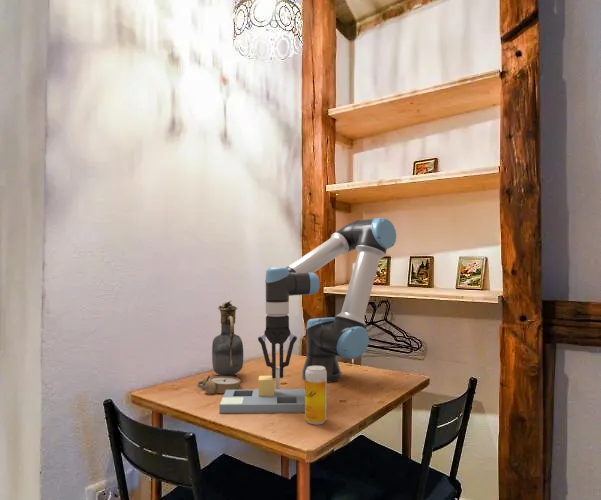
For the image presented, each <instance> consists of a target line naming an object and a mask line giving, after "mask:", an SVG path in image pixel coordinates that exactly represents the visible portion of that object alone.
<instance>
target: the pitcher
mask: <svg viewBox="0 0 601 500" xmlns="http://www.w3.org/2000/svg"><path fill="white" fill-rule="evenodd" d="M232 301H233V300H230V301H227V302H223V303H222V304H221V305H219V306H218V308H217V309H218V310H219V311H220V324H221V325H220V326H221V330H220V331H221V333H220V334H219V335H216V336H215V337H214V338H213V340H212V346H211V356H212V357H211V362H212V369H213V371H214V373H215V374H217V376H231V377H235V378H238V376H237V373H239V372H241V370H242V369H243V366H244V365H243V364H244V345H243V340H242V338H241V336H240V335H238V334H235V324H236V311H237V310H238V307H237V306H234V305H233V304H232V303H231V302H232Z"/></svg>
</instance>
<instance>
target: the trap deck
mask: <svg viewBox="0 0 601 500" xmlns="http://www.w3.org/2000/svg"><path fill="white" fill-rule="evenodd" d="M255 413H256V414H261V413H262V414H268V413H269V414H270V413H271V414H273V413H274V414H279V413H280V414H281V413H283V414H285V413H288V414H289V413H291V414H292V413H295V414H296V413H305V388H296V389H295V388H292V389H291V388H289V389H288V388H287V389H285V388H284V389H283V388H282V389H281V388H280V389H276V388H274V396H259V388H258V389H257V388H256V389H255V388H254V389H240V390H226V391H225V393H223V396H222V398H221V401H220V403H219V412H218V414H255Z"/></svg>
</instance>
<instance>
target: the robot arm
mask: <svg viewBox="0 0 601 500" xmlns="http://www.w3.org/2000/svg"><path fill="white" fill-rule="evenodd" d="M396 241H397V231H396V228H395V225H394V223H392V221H390V219H388V218H385V217H380V218H379V217H375V218H368V219H360V220H359V219H358V220H354V221H352V222H349V223H348V224H346V225H345V226H343V227H340V228H339V229H338V230H337V231H335V232H334V233H332V234H331V235H330V238H329V239H327V240H326V241H325V242H323V243H321V244H320V245H318V246H317V247H315V248H313V249H312V250H311V251H309V252H308V253H306V254H304V255H303V256H301V257H300V258H298V259H296V260H295V261H293V262H292V263H290V264H288V265H287V266H285V267H284V266H283V267H268V268H267V269H266V271H265V280H264V281H265V314H266V316H265V330H264V331H263V334H261V335H259V336H258V337H257V341H258V342H259V344H260V345H261V349H262V354H263V356H264V357H263V358H264V360H265V361H264V362H265V364H266V367H270V368H271V376H272V378H274V379H275V389H281V386H280V385H281V384H280V382H281V381H280V380H281V379H283V378H284V369H285V367H288V366H289V365H290V361H291V357H292V353H293V349H294V345H295V344H296V341H297V340H298V338H297V335H296V334H293V333H292V332H291V329H290V316H289V315H288V314H289V313H290V299H289V298H290V296H305V295H306V296H310V295H314V294H316V293H318V291H319V289H320V287H321V285H320V282H321V281H320V277H319V276H318V275H317V274H316V272H317V271H318V270H320V269H321V268H323V267H324V266H326V265H327V264H328V263H330V262H331V261H333V260H334V259H336V258H337V257H339V256H340V255H345V254H348V253H349V252H351V251H354V250H356V252H357V256H356V259H355V263H354V266H353V270H352V273H351V277H350V281H349V283H348V287H347V290H346V294H345V298H344V301H343V305H342V308H341V312H340V313H338V314H337V315H335V316H334V317H318V318H310V319H308V321H307V323H306V357H305V358H306V359H305V362H304V365H303V368H302V372H301V378H302V379H303V380H305V371H306V369H307V367H308V366H323V367H325V369H326V371H327V383H333V382H337V381H340V380H341V379H342V371H341V368H340V365H339V361H338V358H337V356H339V357H341V358H344V359H357V358H359V357H360V356H362V355H364V353H365V352H366V350H367V349H368V347H369V343H370V341H369V340H370V337H369V333H368V331H367V330H366V327H367V323H366V322H365V320H364V318H365V315H366V311H367V309H368V304H369V301H370V297H371V293H372V290H373V286H374V282H375V279H376V275H377V271H378V267H379V265H380V260H381V259H382V258H383V259H384V257H386V253H387V250H388V249H391V248H392V247H394V245H395V244H396ZM288 338H289V341H290V342H289V345H288V348H287V353H286V355H285V360H284V343H286V342H287V340H288ZM266 339H267V340H268V342H269V343H271V360H270V356H269V353H268V352H269V351H268V349H267V344H266ZM278 344H279V366H277V363H276V361H277V356H276V355H277V354H276V353H277V351H276V346H277V345H278Z"/></svg>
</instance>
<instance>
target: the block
mask: <svg viewBox="0 0 601 500" xmlns="http://www.w3.org/2000/svg"><path fill="white" fill-rule="evenodd" d="M258 389H259V396H274V389H275V378H272V375H259V376H258Z"/></svg>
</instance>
